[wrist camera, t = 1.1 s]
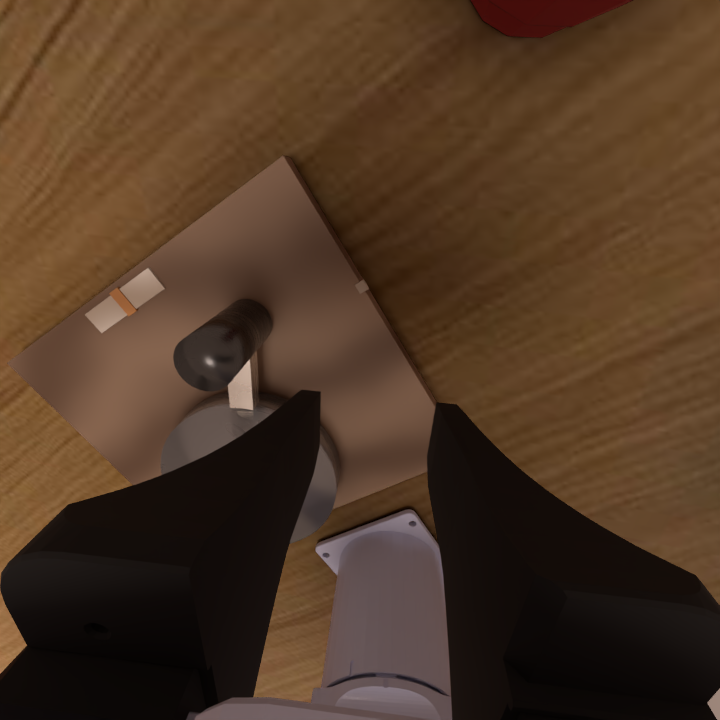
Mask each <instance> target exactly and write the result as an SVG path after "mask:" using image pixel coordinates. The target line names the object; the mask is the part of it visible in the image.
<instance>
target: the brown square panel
mask: <svg viewBox="0 0 720 720" xmlns="http://www.w3.org/2000/svg"><path fill="white" fill-rule="evenodd" d="M240 299H251V300H254V301H257V302H259V303H260V304H262V305H263V306H264V307H265V308H266V309H267V310H268V312H269V314H270V316H271V318H272V331H271V333H270V335H269V337H268V338H267V339H266V340H265V342H264V343H263V344H262V345H261V346H260V348H259V349H258V350H257V364H258V381H259V392H264V393H268V394H272V395H276V396H278V397H281V398H284V399H286V400H289V399H290V398H291V397H293V396H294V395H295V394H296V393H298V392H299V391H300V390H311V391H321V412H320V424H321V425H322V426H323V427H324V428H325V429H326V431H327V432H328V434H329V435H330V437H331V439H332V440H333V442H334V444H335V447H336V449H337V452H338V456H339V461H340V475H339V482H338V487H337V492H336V498H335V503H334V506H333V509H335V508H338V507H340V506H343V505H345V504H348V503H350V502H353V501H355V500H358V499H360V498H363V497H365V496H368V495H370V494H373V493H375V492H378V491H380V490H383V489H385V488H388V487H390V486H393V485H395V484H398V483H400V482H403V481H405V480H408V479H410V478H413V477H415V476H417V475H420V474H422V473H425V472H427V453H428V447H429V441H430V436H431V430H432V424H433V418H434V413H435V407H436V403H437V402H436V400H435V398H434V397H433V395H432V393H431V392H430V390H429V388H428V387H427V385H426V383H425V382H424V380H423V378H422V377H421V375H420V373H419V372H418V370H417V368H416V367H415V365H414V363H413V362H412V360H411V358H410V357H409V355H408V353H407V352H406V350H405V348H404V347H403V345H402V343H401V342H400V340H399V338H398V337H397V335H396V333H395V332H394V330H393V328H392V327H391V325H390V323H389V322H388V320H387V318H386V317H385V315H384V313H383V312H382V310H381V308H380V307H379V305H378V303H377V302H376V300H375V298H374V297H373V295H372V293H371V292H370V290H369V287H368V285H367V284H366V282H365V280H364V279H363V278H362V277H361V275H360V273H359V272H358V270H357V268H356V267H355V265H354V263H353V262H352V260H351V258H350V257H349V255H348V253H347V252H346V250H345V248H344V247H343V245H342V243H341V242H340V240H339V238H338V237H337V235H336V233H335V232H334V230H333V228H332V227H331V225H330V223H329V222H328V220H327V218H326V217H325V215H324V213H323V212H322V210H321V208H320V206H319V205H318V203H317V201H316V200H315V198H314V196H313V195H312V193H311V191H310V190H309V188H308V186H307V185H306V183H305V181H304V180H303V178H302V176H301V175H300V173H299V171H298V170H297V168H296V166H295V165H294V163H293V161H292V160H291V158H290V157H287V156H282V157H280V158H279V159H278V160H276V161H275V162H274V163H272V164H271V165H270V166H268V167H267V168H266V169H264V170H263V171H262V172H260V173H259V174H258V175H256V176H255V177H254V178H252V179H251V180H250V181H248V182H247V183H246V184H244V185H243V186H242V187H240V188H239V189H238V190H236V191H235V192H234V193H232V194H231V195H230V196H228V197H227V198H226V199H224V200H223V201H222V202H220V203H219V204H218V205H217V206H215V207H214V208H213V209H211V210H210V211H209V212H207V213H206V214H205V215H203V216H202V217H201V218H199V219H198V220H197V221H195V222H194V223H193V224H191V225H190V226H189V227H187V228H186V229H185V230H183V231H182V232H181V233H179V234H178V235H177V236H175V237H174V238H173V239H171V240H170V241H169V242H167V243H166V244H165V245H163V246H162V247H161V248H159V249H158V250H157V251H155V252H154V253H153V254H151V255H150V256H149V257H147V258H146V259H145V260H143V261H142V262H141V263H139V264H138V265H137V266H135V267H134V268H133V269H131V270H130V271H129V272H127V273H126V274H125V275H123V276H122V277H121V278H119V279H118V280H117V281H115V282H114V283H113V284H111V285H110V286H109V287H107V288H106V289H105V290H103V291H102V292H101V293H99V294H98V295H97V296H95V297H94V298H93V299H91V300H90V301H89V302H87V303H86V304H85V305H83V306H82V307H81V308H79V309H78V310H77V311H75V312H74V313H73V314H71V315H70V316H69V317H67V318H66V319H65V320H64V321H62V322H61V323H60V324H58V325H57V326H56V327H54V328H53V329H52V330H50V331H49V332H48V333H46V334H45V335H44V336H42V337H41V338H40V339H38V340H37V341H36V342H34V343H33V344H32V345H30V346H29V347H28V348H26V349H25V350H24V351H22V352H21V353H20V354H18V355H17V356H16V357H14V358H13V359H12V360H10V361H9V362H8V363H7V364H8V365H9V366H10V367H11V368H12V369H14V370H15V371H16V372H17V373H18V374H19V375H20V376H21V377H22V378H23V379H24V380H25V381H26V382H27V383H28V384H29V385H30V386H31V387H32V388H33V389H34V390H35V391H36V392H37V393H38V394H39V395H40V396H41V397H42V398H44V399H45V400H46V401H47V402H48V403H49V404H50V405H51V406H52V407H53V408H54V409H55V410H56V411H57V412H58V413H59V414H60V415H61V416H62V417H63V418H64V419H65V420H66V421H67V422H68V423H69V424H70V425H71V426H72V427H74V428H75V429H76V430H77V431H78V432H79V433H80V434H81V435H82V436H83V437H84V438H85V439H86V440H87V441H88V442H89V443H90V444H91V445H92V446H93V447H94V448H95V449H96V450H97V451H98V452H99V453H100V454H101V455H102V456H104V457H105V458H106V459H107V460H108V461H109V462H110V463H111V464H112V465H113V466H114V467H115V468H116V469H117V470H118V471H119V472H120V473H121V474H122V475H123V476H124V477H125V478H126V479H127V480H128V481H129V482H130V483H131V484H132V485H136V484H139V483H141V482H144V481H147V480H150V479H153V478H155V477H158V476H160V475H162V474H161V466H160V465H161V454H162V449H163V446H164V444H165V442H166V439H167V438H168V436H169V435H170V433H171V432H172V431H173V430H174V429H175V428H176V426H177V425H178V424H179V423H180V422H181V421H182V420H183V419H184V418H185V417H186V415H187V414H188V413H189V412H190V411H191V410H192V409H193V408H194V407H195V406H197V405H198V404H199V403H201V402H202V401H204V400H206V399H208V398H210V397H212V396H215V395H218V394H221V393H225V392H228V385H227V386H226V387H225V388H223V389H221V390H218V391H212V392H210V391H202V390H199V389H196V388H194V387H192V386H191V385H189V384H188V383H186V382H185V381H184V380H183V379H182V378H181V376H180V375H179V374H178V372H177V370H176V368H175V365H174V361H173V354H174V350H175V347H176V346H177V344H178V343H179V342H180V341H181V340H182V339H184V338H185V337H186V336H188V335H189V334H191V333H192V332H193V331H195V330H196V329H197V328H199V327H200V326H202V325H203V324H204V323H206V322H207V321H209V320H210V319H211V318H213V317H214V316H215V315H217V314H218V313H220V312H221V311H222V310H224V309H225V308H227V307H228V306H229V305H231V304H232V303H234V302H235V301H237V300H240ZM333 509H332V510H333Z"/></svg>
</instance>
